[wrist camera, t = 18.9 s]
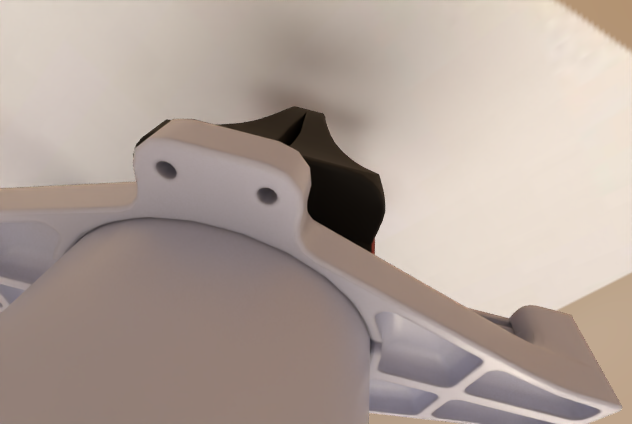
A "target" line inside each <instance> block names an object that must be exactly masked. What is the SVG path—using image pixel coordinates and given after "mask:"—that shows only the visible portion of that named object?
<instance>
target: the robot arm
mask: <svg viewBox="0 0 632 424" xmlns="http://www.w3.org/2000/svg"><path fill="white" fill-rule="evenodd" d="M133 158H134V159H133V169H134V174H135V178H136V182H118V183H98V184H78V185H58V186H38V187H17V188H0V424H369V413H375V414H384V415H392V416H402V417H410V418H419V419H427V420H437V421H445V422H454V423H461V424H589V423H591V422H594V421H596V420H599V419H601V418H604V417H606V416H609V415H611V414H614V413H616V412H619V411H621V409H622V405H621V404H620V402H619V400H618V398H617V396H616V395H615V393H614V391H613V389H612V387H611V386H610V384H609V382H608V380H607V378H606V377H605V375H604V373H603V371H602V369H601V368H600V366H599V364H598V362H597V360H596V359H595V357H594V355H593V353H592V351H591V350H590V348H589V346H588V344H587V343H586V341H585V339H584V337H583V335H582V334H581V332H580V330H579V329H578V326H577V325H576V323H575V321H574V319H573V317H572V316H571V315H570V314H567V313H563V312H559V311H555V310H551V309H547V308H543V307H539V306H534V305H528V306H523V307H521V308H519V309H518V310H517V311H516V312H515V313H514V314H513V315H512V316H511V317H510V318H505V317H501V316H497V315H493V314H490V313H486V312H482V311H478V310H474V309H470V308H466V307H465V306H463V305H461V304H459V303H458V302H456V301H454V300H452V299H451V298H449V297H447V296H445V295H444V294H442V293H440V292H438V291H437V290H435V289H433V288H431V287H430V286H428V285H426V284H424V283H423V282H421V281H419V280H417V279H416V278H414V277H412V276H410V275H409V274H407V273H405V272H403V271H402V270H400V269H398V268H396V267H395V266H393V265H391V264H389V263H388V262H386V261H384V260H383V259H381V258H379V257H377V256H376V255H374V254H372V243H373V240H374V238H375V236H376V234H377V232H378V230H379V228H380V225H381V223H382V221H383V218H384V214H385V197H384V192H383V187H382V183H381V180H380V176H379V174H377V173H375V172H373V171H370V170H368V169H366V168H364V167H362V166H360V165H359V164H357V163H356V162H354V161H353V160H351V159H350V158H349V157H348V156H347V155H345V154H344V153H343V152H342V151H341V150H340V148H339V147H338V146H337V145H336V144H335V142H334V140H333V139H332V137H331V135H330V132H329V130H328V127H327V124H326V120H325V115H324V114H323V113H319V112H315V111H311V110H307V109H303V108H300V107H296V106H294V107H291V108H288V109H286V110H283V111H281V112H278V113H276V114H273V115H270V116H267V117H264V118H261V119H258V120H254V121H249V122H244V123H236V124H221V125H214V124H210V123H206V122H203V121H199V120H195V119H173V120H165V121H164V122H162V123H161V124H160V125H158V126H157V127H156V128H154V129H153V130H152V131H150V132H149V133H148V134H146V135H145V136H143V137H142V138H141V139H140V141H139V142H138V143H137V144H136V147H135V149H134V153H133Z"/></svg>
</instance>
